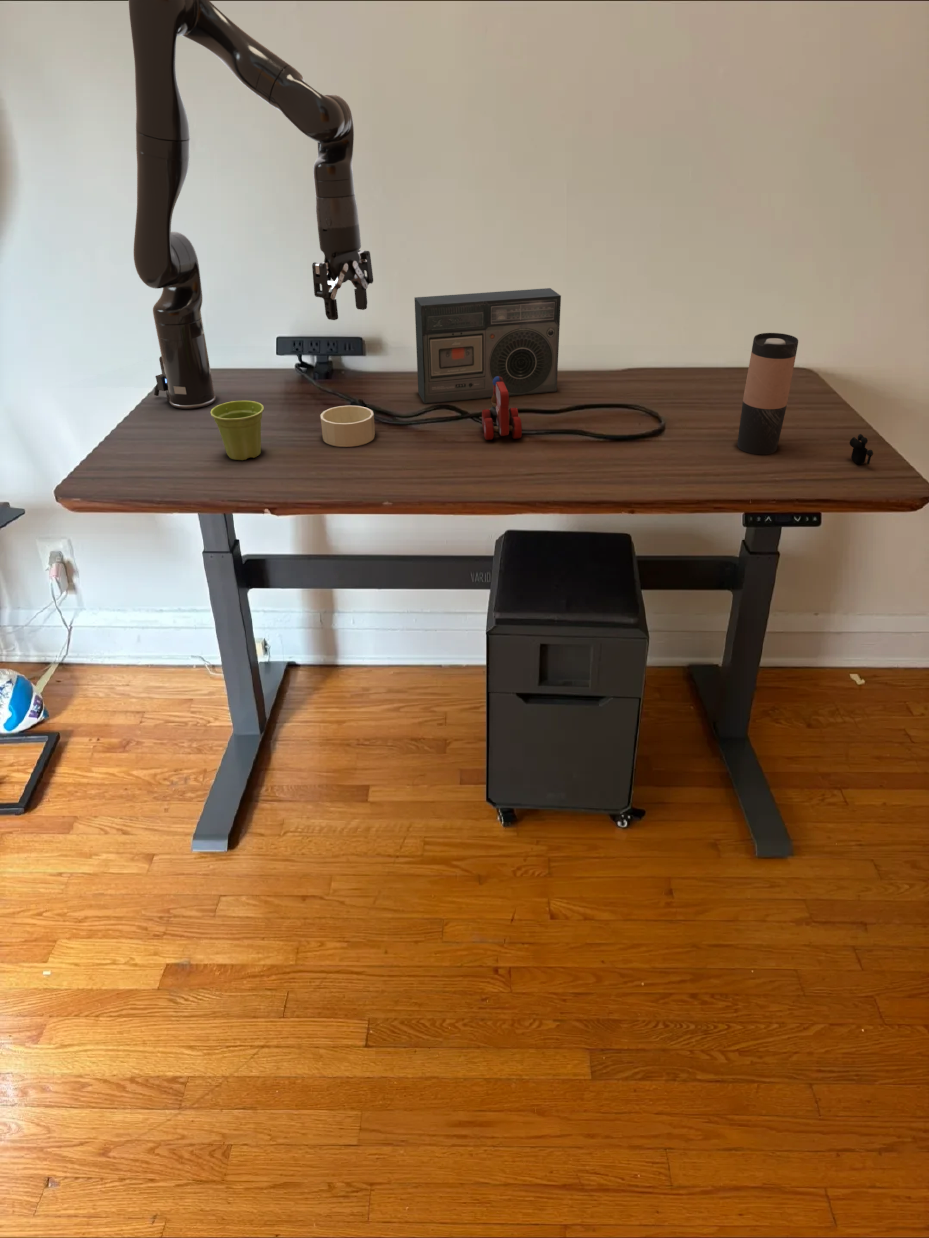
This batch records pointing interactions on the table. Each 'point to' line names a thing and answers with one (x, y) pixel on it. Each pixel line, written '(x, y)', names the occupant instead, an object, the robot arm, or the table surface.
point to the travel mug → (766, 392)
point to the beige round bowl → (347, 426)
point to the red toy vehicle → (501, 414)
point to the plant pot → (240, 427)
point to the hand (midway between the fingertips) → (347, 314)
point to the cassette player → (487, 343)
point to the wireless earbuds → (860, 450)
